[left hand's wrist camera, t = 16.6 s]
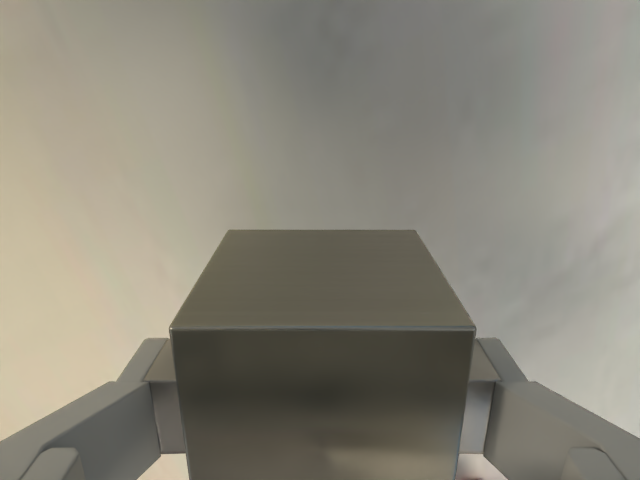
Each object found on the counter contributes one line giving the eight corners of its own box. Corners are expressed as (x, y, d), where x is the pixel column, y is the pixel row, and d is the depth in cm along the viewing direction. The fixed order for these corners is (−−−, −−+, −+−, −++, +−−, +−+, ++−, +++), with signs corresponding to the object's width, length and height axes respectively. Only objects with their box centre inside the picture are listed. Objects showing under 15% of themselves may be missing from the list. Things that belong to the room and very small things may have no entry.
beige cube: (403, 387, 13) (446, 548, 9) (239, 386, 13) (196, 547, 9) (416, 228, 12) (478, 327, 7) (227, 228, 12) (166, 327, 7)
